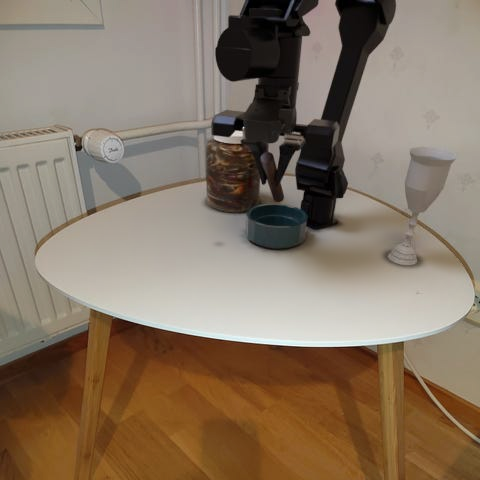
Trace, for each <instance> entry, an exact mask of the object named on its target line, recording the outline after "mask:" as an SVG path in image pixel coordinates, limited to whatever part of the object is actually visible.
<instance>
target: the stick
mask: <svg viewBox="0 0 480 480" xmlns="http://www.w3.org/2000/svg"><path fill="white" fill-rule="evenodd" d="M261 163H262V166H263V169H264V172H265V175H266V178H267V180H266V182H267V185H268V188H269V191H270V193H271V197H272V200H273V201H274V202H275V203H282V202H283V201H284V199H285V194H284V189H283V186H282V183H280V185H279V186H278V187H276V174H277V168H278V166H277V164H276V161H275V157H274V154H273V153H272V152H270V151H268V152H265V153H263V154H262V156H261Z"/></svg>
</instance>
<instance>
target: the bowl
mask: <svg viewBox="0 0 480 480" xmlns="http://www.w3.org/2000/svg"><path fill="white" fill-rule="evenodd" d="M307 219H308V216H307V215H306V213H305V212H304V211H302V210H301V209H300V207H299V208H298V207H296V206H294V205H290V204H284V203H283V204H281V203H263V204H259V205H258V206H255V207H253V208H251V209H249V210H248V211H246V214H245V235H246V239H248V240H249V241H251V242H252V243H254V244H256V245H257V246H260V247H263V248H267V249H274V250H281V249H282V250H284V249H289V248H292V247H295V246H298V245H300V244H302V243H303V242H304V241H305V238H306V235H307V234H306V233H307V226H308V225H307Z"/></svg>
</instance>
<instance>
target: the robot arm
mask: <svg viewBox="0 0 480 480" xmlns="http://www.w3.org/2000/svg"><path fill="white" fill-rule="evenodd" d="M319 3H320V2H319V0H244V3H243V5H242V8H241V10H240V13H239V15H238V14H237V15H235V14H229V15H228V17H227V28H225V29H224V30H223V31H222V32H221V34H220V35H219V38H218V39H217V43H216V47H215V49H214V50H215V51H214V56H215V62H216V63H215V64H216V66H217V69H218V71H219V73H220V74H221V76H222V77H223V78H225V80H227V81H229V82H234V83H235V82H241V81H242V82H243V81H249V80H255V79H257V84H255V88H254V95H253V99H252V102H251V103H250V104H249V105H248V107H247V109H246V111H241V110H231V109H225V110H223V111H221V112H219V113H216V114H214V116H213V118H212V119H211V124H210V129H211V130H210V134H211V136H213V137H214V136H222V137H230V136H231V135H232V134H233V133H234V132H235V131H243V139H242V140H241V144H243V145H246V146H247V147H248V148H249V149H250V150H251V152H252V154H253V157H254V159H255V162H256V165H257V169H258V172H259V176H260V184H261V185H262V186H265V185H266V184H267V178H266V175H265V172H264V169H263V166H262V163H261V156H262V154H263V153H265V152H269V147H270V146H269V145H270V144H276V142H278V141H279V139H280V137H283V140H284V141H283V142H282V143H281V144H280V145H279V146H278V151H279V157H278V163H277V174H276V187H278V186H279V185H280V183H281V182H282V181H283V178H284V176H285V174H286V171H287V169H288V167H289V164H290V162H291V160H292V158H293V156H294V155H295V153H296V152H299V156H298V158H297V161H296V162H295V164H296V165H295V169H294V175H295V184H296V190H298V191H301V192H302V191H303V194H302V199H301V201H300V207H299V209H301V210H302V211H304V212H305V213H306V215H307V216H308V219H307V226H308V227H309V228H311V229H313V230H319V229H322V228H325V227H326V228H327V227H329V226H334V225H337V224H339V220H338V219H337V218H335V217H334V216H335V209H336V205H337V204H336V203H337V199H343V198H344V197H345V196H344V195H346V193H347V189H348V185H349V182H348V178H347V176H346V174H345V171H344V166H345V162H346V158H345V153H344V148H343V144H342V143H343V138H344V135H345V132H346V129H347V126H348V123H349V119H350V117H351V113H352V110H353V107H354V104H355V100H356V98H357V94H358V92H359V88H360V85H361V83H362V79H363V75H364V72H365V70H366V66H367V63H368V60H369V57H370V55H371V54H372V53H373V52H374V51H375V50H376V49H377V48H378V46H379V45H380V44H381V43H382V42H384V39H385V37H386V35H387V32H388V30H389V27H390V25H391V24H392V22H393V20H394V18H395V15H396V10H397V1H396V0H335V2H334V6H335V8H336V11H337V13H338V15H339V17H340V18H339V21H338V27H337V29H338V33H339V38H340V43H341V49H340V53H339V55H338V59H337V62H336V66H335V69H334V73H333V76H332V80H331V82H330V86H329V90H328V93H327V97H326V100H325V104H324V107H323V110H322V113H321V118H319V119H318V118H313V119H312V120H311V121H310V122H309V123H308V124H303V123H297V117H298V116H297V115H298V112H297V98H298V91H299V86H300V82H299V79H300V78H299V77H300V76H299V75H300V66H301V56H302V45H303V37H309V36H310V35H311V30H310V28H309V26H308V24H306V22H305V20H304V18H303V17H304V16H306V15H307V14H309V13H310V12H312V11H313V10H315V9H316V8H317V7H318V5H319ZM281 184H282V183H281Z"/></svg>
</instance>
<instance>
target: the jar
mask: <svg viewBox="0 0 480 480" xmlns="http://www.w3.org/2000/svg"><path fill="white" fill-rule="evenodd" d="M242 139H243V131H235V132H234V133H233V134H232V135H231V136H230V137H222V136H213V137H212V138H210V139H208V140H207V141H206V146H205V147H206V148H205V173H206V175H205V176H206V177H205V178H206V183H205V184H206V203H207V205H208V206H209V207H211V208H212V209H214V210H217V211H220V212H225V213H247V212H248V210H249V209H251V208H253V207H255V206H258V205H260V204H259V203H260V191H261V179H260V176H259V172H258V169H257V165H256V162H255V159H254V157H253V154H252V152H251V150H250V149H249V148H248V147H247V146H246V145H243V144H241V140H242Z"/></svg>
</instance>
